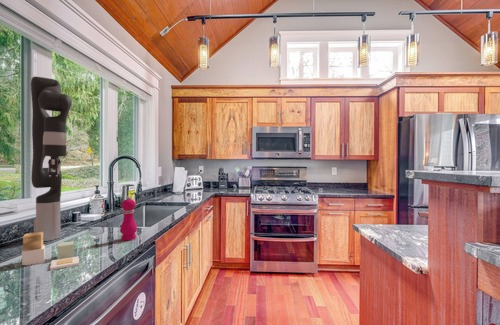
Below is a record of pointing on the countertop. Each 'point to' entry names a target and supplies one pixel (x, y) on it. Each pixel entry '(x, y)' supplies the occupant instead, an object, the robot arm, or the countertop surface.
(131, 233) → the pepper mill
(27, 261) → the base block
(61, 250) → the sage block
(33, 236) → the maple block
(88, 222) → the countertop surface
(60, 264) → the tile
